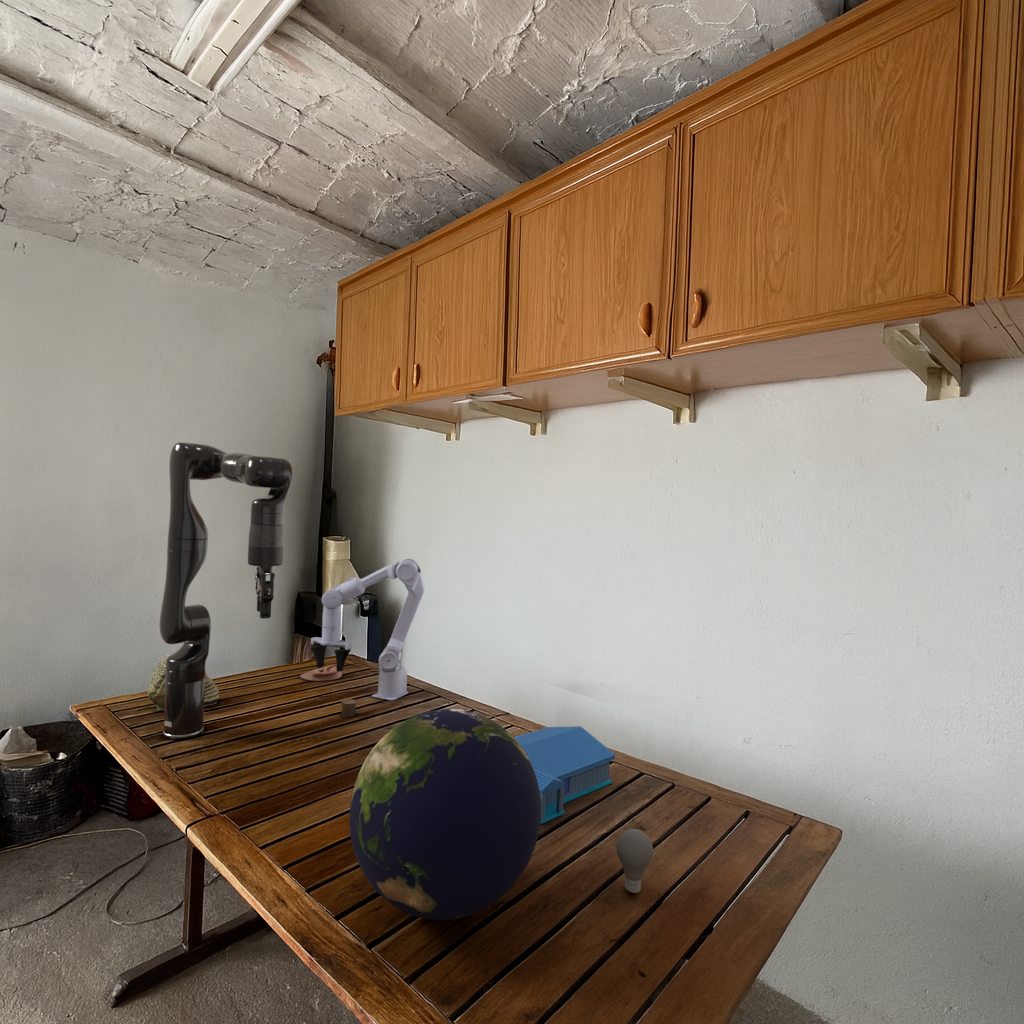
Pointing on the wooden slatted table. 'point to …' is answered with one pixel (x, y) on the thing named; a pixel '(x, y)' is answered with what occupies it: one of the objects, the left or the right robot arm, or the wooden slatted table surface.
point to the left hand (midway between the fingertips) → (263, 614)
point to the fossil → (158, 687)
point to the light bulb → (634, 857)
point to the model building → (565, 765)
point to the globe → (445, 814)
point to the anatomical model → (322, 674)
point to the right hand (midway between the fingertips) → (330, 669)
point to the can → (348, 708)
